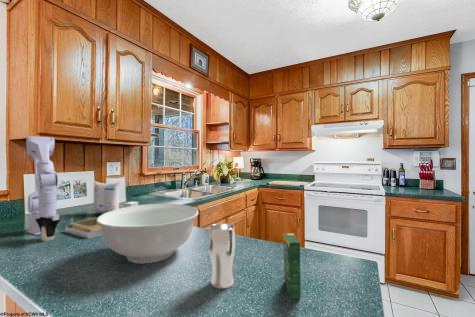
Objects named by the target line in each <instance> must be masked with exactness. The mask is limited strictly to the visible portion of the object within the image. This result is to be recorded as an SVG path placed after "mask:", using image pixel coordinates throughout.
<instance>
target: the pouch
mask: <svg viewBox="0 0 475 317" xmlns="http://www.w3.org/2000/svg"><path fill="white" fill-rule="evenodd" d="M120 183H121V182H120V181H117V182H113V183H111V182H110V183H105V182H99V181H96V180H94V181H93V208H92V210H93V211H92V213H93V214H97V213H107V212H109V211H112V210H116V209H120V185H121V184H120Z"/></svg>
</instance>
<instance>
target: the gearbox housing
mask: <svg viewBox="0 0 475 317" xmlns="http://www.w3.org/2000/svg"><path fill="white" fill-rule="evenodd" d="M98 217H99V216H98ZM98 217H94V218H93V217H92V218H88V219H84V220H83V219H82V220H80V221H74V222H70V224H68V225H66V226H65V227H64V230H65V234H70V235H74V236H77V237H81V238H84V239H91V238H95V237H98V236H101V235H103V231H102V228H101V227H100V226H99V225H98V224H97V218H98Z"/></svg>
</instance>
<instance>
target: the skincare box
mask: <svg viewBox="0 0 475 317" xmlns="http://www.w3.org/2000/svg"><path fill="white" fill-rule="evenodd" d="M122 205H123V207H122V208H125V207H130V206H137V205H139V201H128V202H127V201H126V202H125V203H123V204H122Z"/></svg>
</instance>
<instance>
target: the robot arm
mask: <svg viewBox="0 0 475 317" xmlns="http://www.w3.org/2000/svg"><path fill="white" fill-rule="evenodd" d="M25 140H26V141H25V143H26V153H27V156H30V157H32V159H33V163H34V164H33V165H34V181H35V182H34V186H35V187H34V188H35V191H34V192H32V193H30V194H29V195H28V197H27V211H28V212H27V213H30V216H29V217H28V221H29V224H28V228H29V229H28V230H26V233H30V234H31V235H42V228H41V227H42V226H45V229H46V235H47V237H52V236H54V237H55V233H56V231H57V227H58V224H59V223H60V221H61V218H60V214H58V212H57V187H58V184H59V176H58V174H57V171H55V166H54V162H53V161H52V160H50V156H52V155H53V154H54V151H55V150H54V149H55V145H56V143H55V142H56V141H55V137H53V136H37V135H36V136H33V135H28V136H26V139H25Z"/></svg>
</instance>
